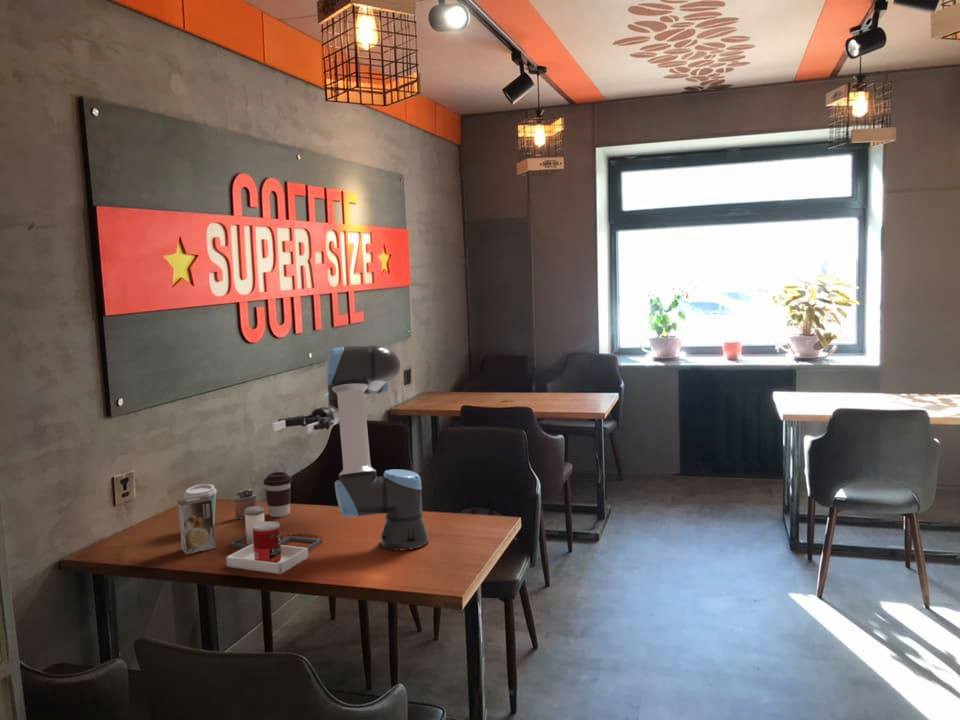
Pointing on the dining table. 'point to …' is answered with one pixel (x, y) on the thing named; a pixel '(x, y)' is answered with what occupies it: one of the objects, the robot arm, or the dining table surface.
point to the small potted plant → (244, 502)
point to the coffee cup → (278, 493)
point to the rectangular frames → (314, 541)
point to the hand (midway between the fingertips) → (290, 428)
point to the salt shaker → (252, 520)
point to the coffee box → (196, 524)
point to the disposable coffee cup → (203, 494)
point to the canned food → (267, 541)
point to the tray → (248, 562)
